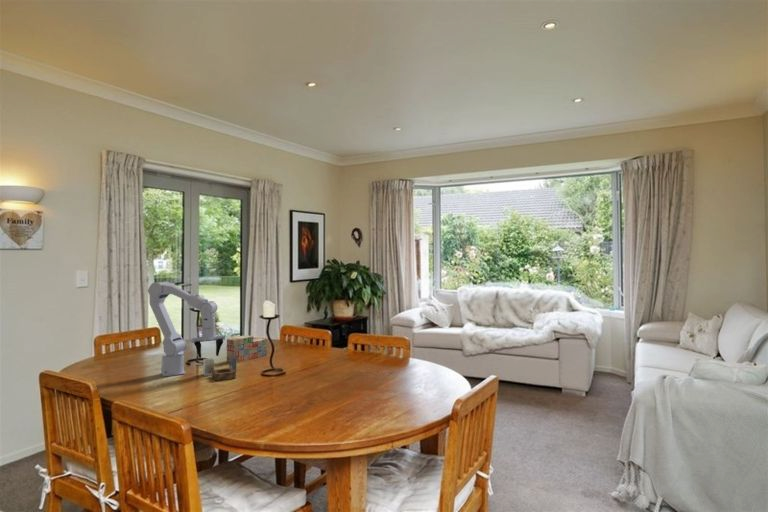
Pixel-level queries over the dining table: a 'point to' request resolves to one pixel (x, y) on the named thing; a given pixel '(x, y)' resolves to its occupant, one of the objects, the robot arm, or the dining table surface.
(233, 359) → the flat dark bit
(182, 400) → the dining table surface
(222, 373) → the walnut bore block
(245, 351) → the stack of blocks
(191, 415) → the dining table surface
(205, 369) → the block
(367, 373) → the dining table surface
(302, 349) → the dining table surface
